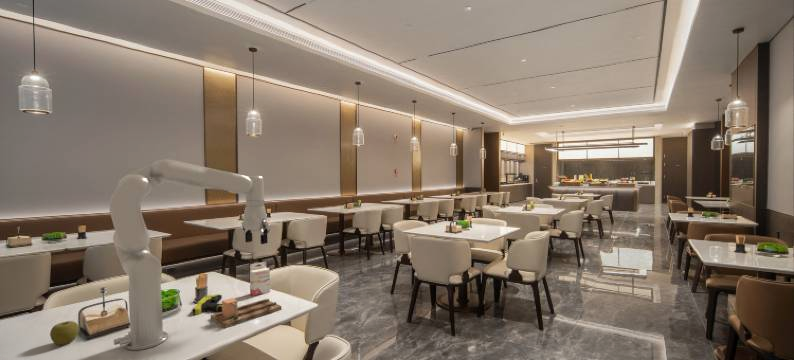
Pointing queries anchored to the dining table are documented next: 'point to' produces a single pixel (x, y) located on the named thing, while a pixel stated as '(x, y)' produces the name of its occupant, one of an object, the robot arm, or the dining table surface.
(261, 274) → the ink cartridge box
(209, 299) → the stun gun
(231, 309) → the orange tan block
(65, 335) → the apple
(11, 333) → the dining table surface
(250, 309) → the wooden slatted tray
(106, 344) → the dining table surface
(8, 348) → the dining table surface
